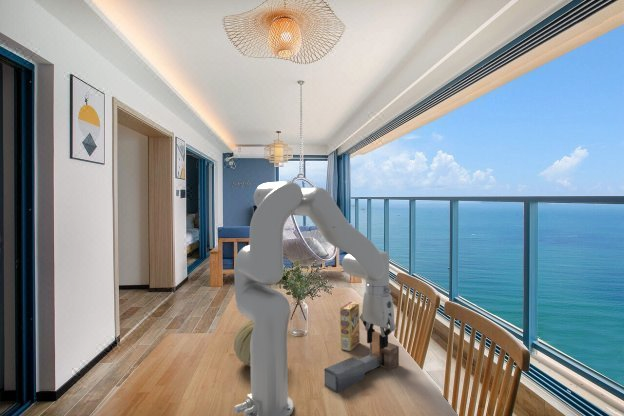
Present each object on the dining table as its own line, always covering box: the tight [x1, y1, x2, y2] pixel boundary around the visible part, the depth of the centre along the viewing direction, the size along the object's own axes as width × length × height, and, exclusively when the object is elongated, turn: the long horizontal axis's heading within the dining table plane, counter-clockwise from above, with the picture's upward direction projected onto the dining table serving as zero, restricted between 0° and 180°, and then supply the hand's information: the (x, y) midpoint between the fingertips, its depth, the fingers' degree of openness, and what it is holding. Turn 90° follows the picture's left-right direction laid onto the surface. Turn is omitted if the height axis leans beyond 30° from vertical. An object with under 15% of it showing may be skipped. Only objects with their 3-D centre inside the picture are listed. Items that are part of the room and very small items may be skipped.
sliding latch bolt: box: [358, 330, 384, 373], centre depth 115 cm, size 16×3×10 cm, turn 130°
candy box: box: [339, 301, 361, 352], centre depth 134 cm, size 9×4×15 cm, turn 150°
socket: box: [369, 341, 400, 371], centre depth 120 cm, size 5×8×6 cm, turn 40°
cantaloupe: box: [233, 320, 254, 368], centre depth 120 cm, size 15×15×15 cm
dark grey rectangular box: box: [323, 356, 366, 393], centre depth 108 cm, size 12×5×5 cm, turn 130°
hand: (377, 344), depth 118 cm, fingers open, 4 cm apart
